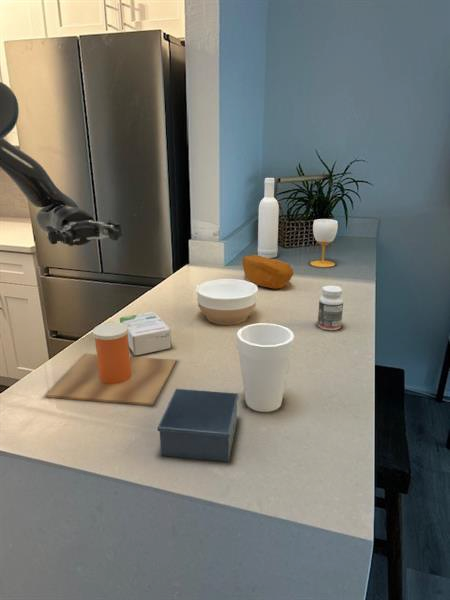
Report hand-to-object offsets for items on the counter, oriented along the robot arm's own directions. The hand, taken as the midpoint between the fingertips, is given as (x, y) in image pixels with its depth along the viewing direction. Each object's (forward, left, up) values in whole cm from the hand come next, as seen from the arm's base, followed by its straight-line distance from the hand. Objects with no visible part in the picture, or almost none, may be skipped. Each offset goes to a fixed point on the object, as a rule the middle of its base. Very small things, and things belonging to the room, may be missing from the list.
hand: (94, 237), depth 82 cm
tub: (+5, -7, -26) cm, 27 cm away
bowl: (+22, +26, -26) cm, 43 cm away
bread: (+31, +57, -26) cm, 70 cm away
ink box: (+2, +14, -24) cm, 27 cm away
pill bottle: (+48, +23, -26) cm, 59 cm away
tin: (+25, -23, -26) cm, 42 cm away
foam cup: (+34, -12, -26) cm, 44 cm away
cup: (+50, +81, -26) cm, 99 cm away
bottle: (+29, +91, -26) cm, 99 cm away
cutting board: (+5, -8, -26) cm, 27 cm away
